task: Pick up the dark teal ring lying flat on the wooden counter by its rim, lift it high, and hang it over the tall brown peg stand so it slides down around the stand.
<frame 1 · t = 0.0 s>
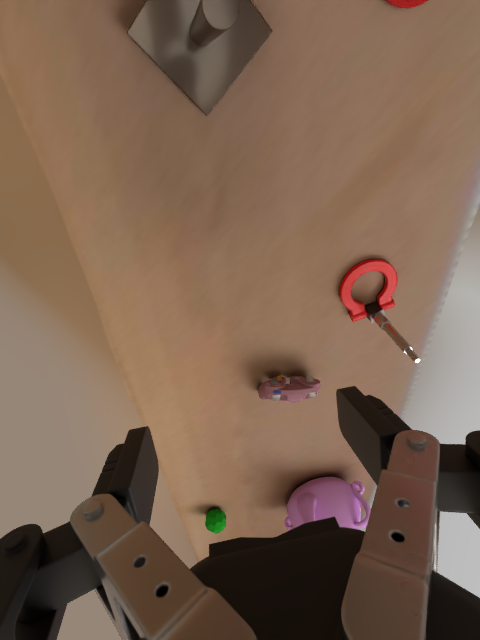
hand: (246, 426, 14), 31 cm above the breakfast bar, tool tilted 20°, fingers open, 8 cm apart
video game controller: (284, 377, 59), on the breakfast bar
tow hook: (366, 286, 51), on the breakfast bar
brown peg stand: (200, 33, 31), on the breakfast bar
polyhedron: (214, 509, 82), on the breakfast bar
teapot: (312, 486, 83), on the breakfast bar
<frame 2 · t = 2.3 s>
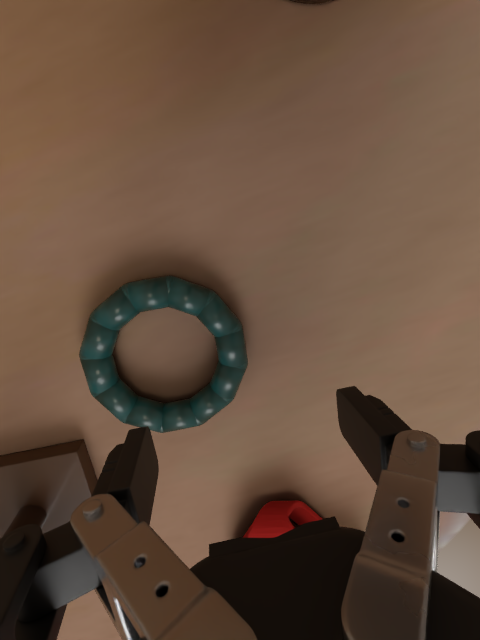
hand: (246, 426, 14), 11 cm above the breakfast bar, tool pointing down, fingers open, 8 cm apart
ring: (166, 357, 24), point 1 cm above the breakfast bar
brown peg stand: (41, 500, 27), on the breakfast bar
tracker holder: (294, 543, 31), on the breakfast bar
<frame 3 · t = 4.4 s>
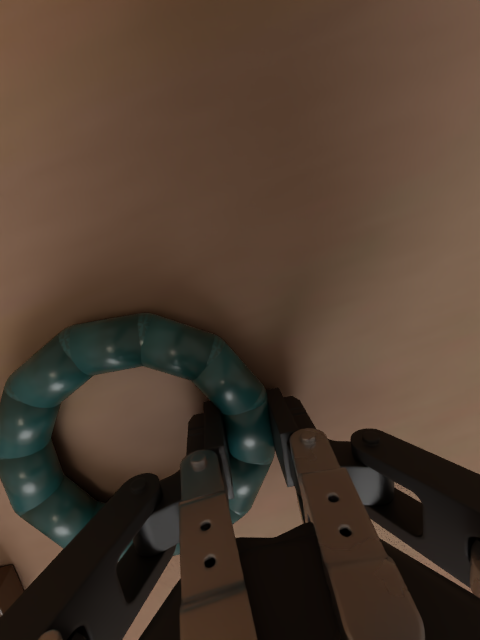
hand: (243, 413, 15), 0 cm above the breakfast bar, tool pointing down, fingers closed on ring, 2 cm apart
ring: (141, 445, 14), point 1 cm above the breakfast bar, touching gripper
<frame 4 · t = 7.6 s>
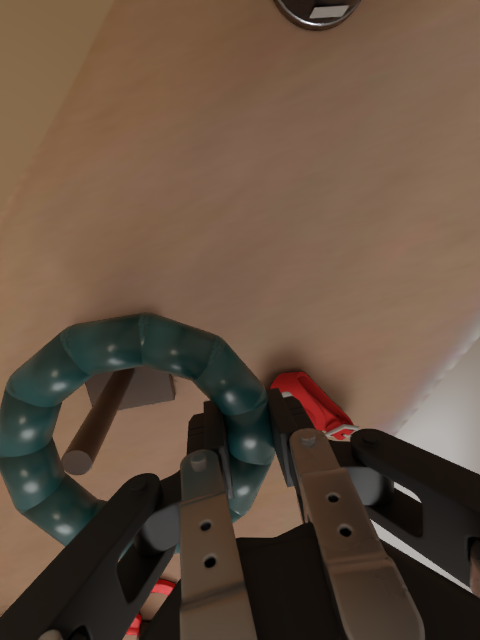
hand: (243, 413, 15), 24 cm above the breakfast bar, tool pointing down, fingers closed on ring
tow hook: (154, 602, 49), on the breakfast bar
ring: (141, 444, 14), point 24 cm above the breakfast bar, touching gripper
brown peg stand: (128, 365, 39), on the breakfast bar
tracker holder: (300, 410, 43), on the breakfast bar
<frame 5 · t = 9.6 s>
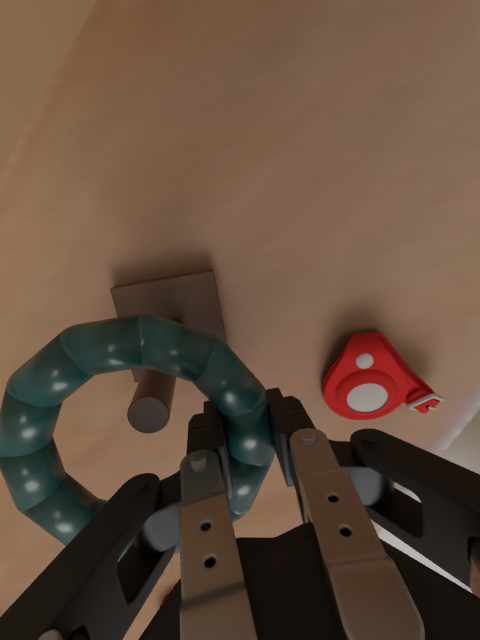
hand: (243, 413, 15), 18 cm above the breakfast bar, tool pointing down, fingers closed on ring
ring: (141, 445, 14), point 19 cm above the breakfast bar, touching gripper
brown peg stand: (174, 324, 32), on the breakfast bar
tracker holder: (371, 380, 37), on the breakfast bar
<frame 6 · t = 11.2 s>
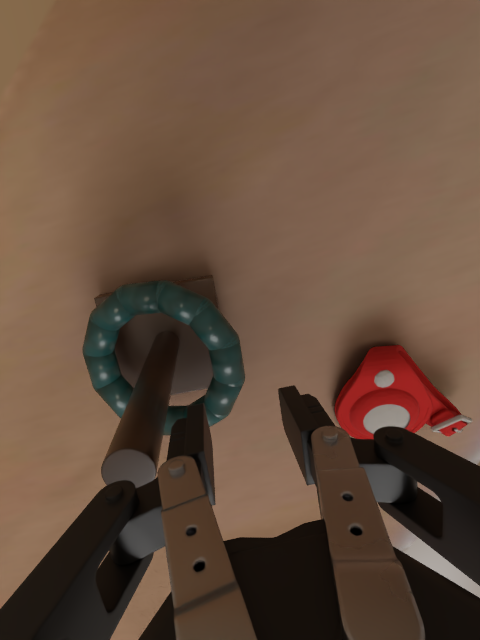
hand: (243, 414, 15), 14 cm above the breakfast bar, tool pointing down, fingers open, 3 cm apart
ring: (162, 362, 23), point 6 cm above the breakfast bar, tilted 19°
brown peg stand: (168, 337, 29), on the breakfast bar
tracker holder: (389, 398, 33), on the breakfast bar
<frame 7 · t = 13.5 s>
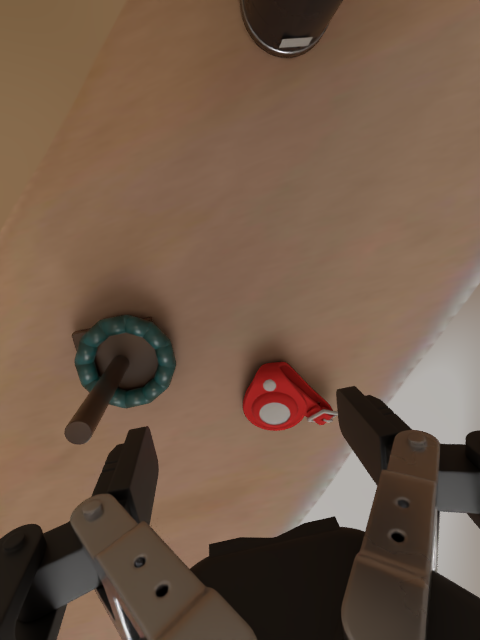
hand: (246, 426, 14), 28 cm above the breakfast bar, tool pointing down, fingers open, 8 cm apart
ring: (126, 362, 40), point 2 cm above the breakfast bar, touching brown peg stand
brown peg stand: (123, 358, 42), on the breakfast bar
tracker holder: (283, 399, 46), on the breakfast bar
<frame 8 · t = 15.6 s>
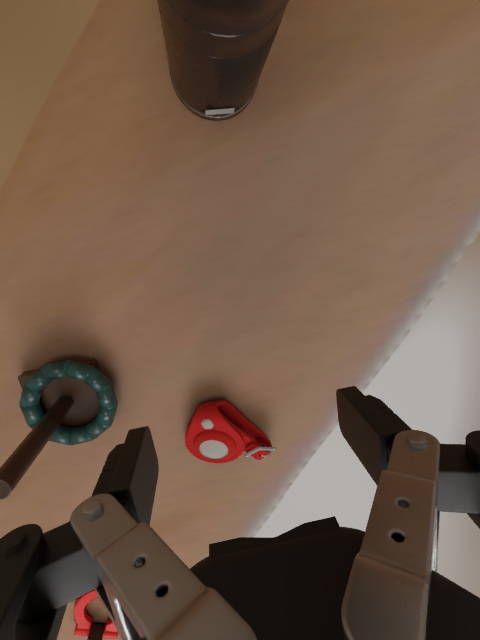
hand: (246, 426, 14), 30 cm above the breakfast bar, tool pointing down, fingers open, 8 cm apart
tow hook: (103, 605, 54), on the breakfast bar
ring: (69, 403, 42), point 2 cm above the breakfast bar, touching brown peg stand
brown peg stand: (70, 397, 45), on the breakfast bar
tracker holder: (226, 433, 49), on the breakfast bar
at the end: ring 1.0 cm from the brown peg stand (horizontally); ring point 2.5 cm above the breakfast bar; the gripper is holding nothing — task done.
